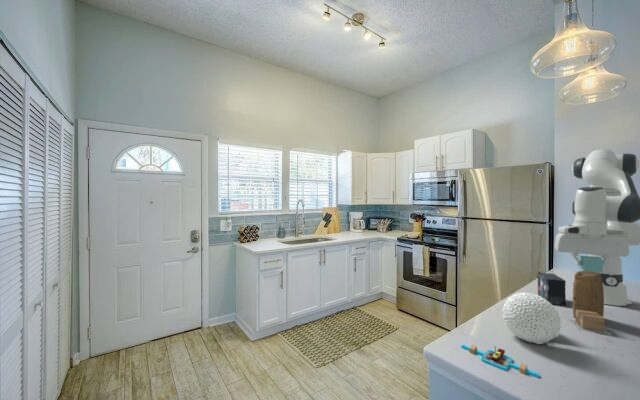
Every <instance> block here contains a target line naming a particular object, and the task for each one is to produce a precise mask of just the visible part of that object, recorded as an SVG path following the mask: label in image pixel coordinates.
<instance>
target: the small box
mask: <svg viewBox="0 0 640 400" xmlns="http://www.w3.org/2000/svg"><path fill="white" fill-rule="evenodd" d="M537 295H539V296H541V297H543V298H545V299H546V300H547V301H548V302H550V303H551V304H552V305H557V306H563V307H564V306H565V307H566V306H567V305H566V304H567V303H566V280H565V279H563V278H562V277H560V276H558V275H557V274H556V273H549V272H537Z"/></svg>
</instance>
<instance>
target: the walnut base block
mask: <svg viewBox="0 0 640 400" xmlns="http://www.w3.org/2000/svg"><path fill="white" fill-rule="evenodd" d="M605 319H606V318H605V317H604V316H603V317H602V316H601V315H599V314H598V313H596V312H591V311H584V310H576V318H575V321H576V323H577V324H578V325H579V326H580V327H581V328H583V329H588V330H594V331H600V332H605V329H606V327H605V324H606V323H605V321H606V320H605Z"/></svg>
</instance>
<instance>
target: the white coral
mask: <svg viewBox="0 0 640 400" xmlns="http://www.w3.org/2000/svg"><path fill="white" fill-rule="evenodd" d="M502 319H503V322H504V325H505V326H506V327H507V330H509V331H510V332H511V333H513V335H515V336H517V337H518V338H519V339H521V340H523V341H526V342H529V343H534V344H537V345H540V344H541V345H542V344H544V343H549V342H550V341H553V339H556V338H558V337H559V336H560V332H561V328H562V325H561V324H562V320H561V317H560V314H559V312H558V310H557V308H556V307H555V306H554V305H553V304H551V303H550V302H548V301H547V300H546V299H545V298H543V297H541V296H539V295H538V294H536V293H535V294H534V293H532V292H525V291H523V292H518V293H514V294H512V295H511V296H509V297H508V298H507V299H506V300H505V302H504V305H503V308H502Z"/></svg>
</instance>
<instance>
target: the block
mask: <svg viewBox="0 0 640 400" xmlns="http://www.w3.org/2000/svg"><path fill="white" fill-rule="evenodd" d="M572 286H573V288H572V315H573V318H574V319H576V310H584V311H591V312H596V313H598V314H599V315H601V316H602V317H603V318H604V313H605V312H604V311H605V310H604V309H605V307H604V306H605V304H604V291H603V283H602V276H601V274H600V273H596V272H591V271H584V270H579V271H577V272H576V273H574V279H573V285H572Z"/></svg>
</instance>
